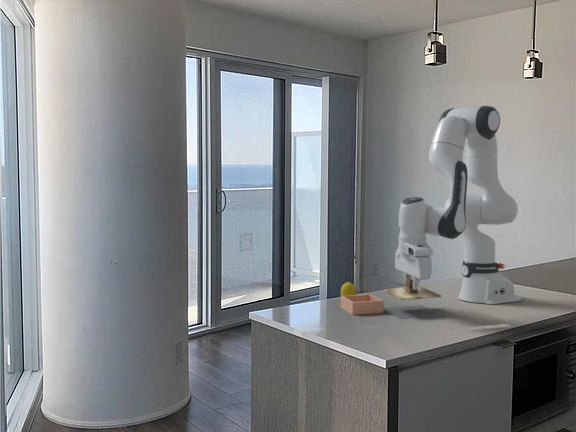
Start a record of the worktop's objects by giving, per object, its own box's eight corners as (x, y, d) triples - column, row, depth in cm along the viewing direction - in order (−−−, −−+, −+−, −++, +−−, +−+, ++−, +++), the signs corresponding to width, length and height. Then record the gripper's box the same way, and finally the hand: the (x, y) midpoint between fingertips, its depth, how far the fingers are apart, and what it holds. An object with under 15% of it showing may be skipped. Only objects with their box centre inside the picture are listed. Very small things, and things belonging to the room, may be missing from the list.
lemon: (355, 305, 223) (355, 283, 222) (339, 304, 224) (339, 282, 223) (356, 302, 228) (356, 280, 228) (341, 301, 229) (341, 280, 229)
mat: (421, 308, 219) (421, 305, 219) (445, 318, 203) (445, 315, 203) (379, 310, 214) (379, 308, 214) (400, 322, 199) (400, 318, 199)
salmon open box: (370, 308, 218) (370, 294, 218) (383, 315, 208) (383, 300, 207) (340, 310, 215) (340, 296, 215) (352, 317, 205) (352, 302, 204)
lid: (421, 288, 218) (421, 275, 217) (440, 297, 204) (441, 283, 204) (383, 290, 214) (383, 277, 214) (401, 300, 201) (401, 286, 200)
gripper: (390, 242, 217) (390, 282, 218) (417, 252, 197) (416, 295, 198) (407, 241, 218) (406, 280, 220) (435, 251, 199) (434, 293, 200)
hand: (411, 287), depth 209 cm, fingers closed on lid, 3 cm apart
